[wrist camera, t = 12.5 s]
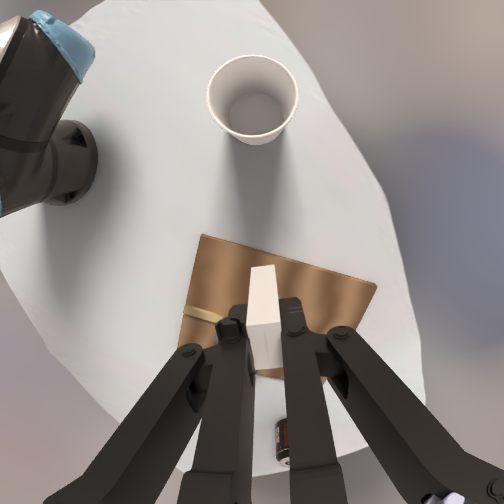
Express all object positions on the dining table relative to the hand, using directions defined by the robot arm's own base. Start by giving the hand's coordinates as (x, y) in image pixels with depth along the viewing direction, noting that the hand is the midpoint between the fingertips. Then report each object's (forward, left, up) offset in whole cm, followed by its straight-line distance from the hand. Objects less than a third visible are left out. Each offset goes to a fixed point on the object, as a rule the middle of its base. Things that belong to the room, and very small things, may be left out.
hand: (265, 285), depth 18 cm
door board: (+7, -18, -24) cm, 31 cm away
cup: (-5, +13, -25) cm, 28 cm away
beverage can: (+21, -46, -25) cm, 56 cm away
